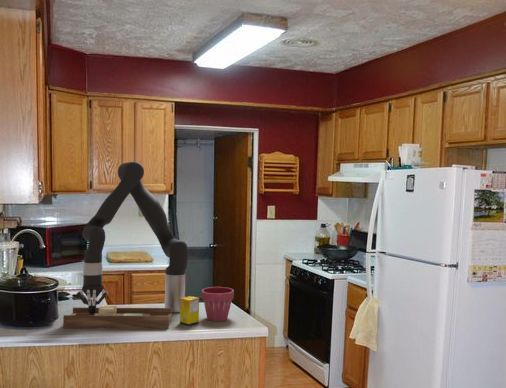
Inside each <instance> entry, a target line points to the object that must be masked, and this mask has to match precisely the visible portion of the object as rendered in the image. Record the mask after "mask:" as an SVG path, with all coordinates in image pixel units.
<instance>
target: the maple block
mask: <svg viewBox="0 0 506 388" xmlns="http://www.w3.org/2000/svg"><path fill="white" fill-rule="evenodd" d="M98 308H99V315H116V308H118V307H117V304H116V305H115V304H104V305H103V304H102V305H100V307H98Z"/></svg>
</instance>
